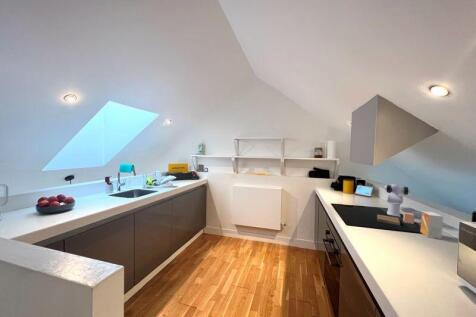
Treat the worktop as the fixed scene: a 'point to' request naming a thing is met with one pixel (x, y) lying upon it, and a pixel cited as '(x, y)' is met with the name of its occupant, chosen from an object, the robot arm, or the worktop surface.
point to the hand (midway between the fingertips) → (398, 190)
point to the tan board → (388, 219)
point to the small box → (431, 224)
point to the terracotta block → (408, 217)
